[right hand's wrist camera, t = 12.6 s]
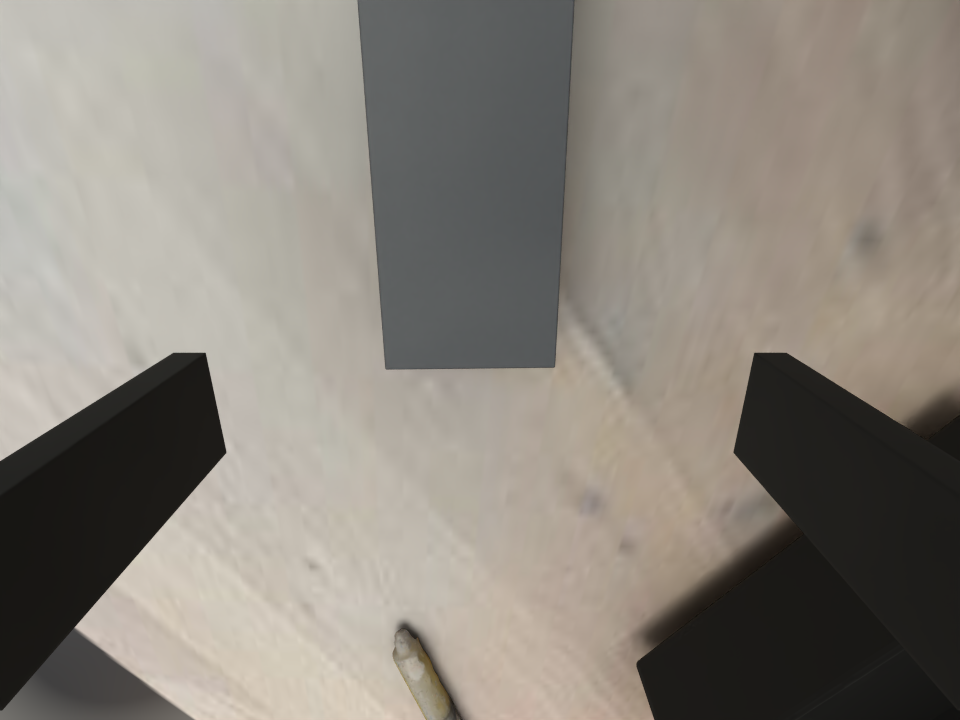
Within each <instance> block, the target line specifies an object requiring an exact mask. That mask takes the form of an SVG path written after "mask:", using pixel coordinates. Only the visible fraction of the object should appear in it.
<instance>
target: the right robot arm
mask: <svg viewBox="0 0 960 720" xmlns="http://www.w3.org/2000/svg"><path fill="white" fill-rule="evenodd" d="M225 454H226V448H225V443H224V438H223V434H222V429H221V424H220V419H219V414H218V410H217V405H216V400H215V395H214V391H213V386H212V381H211V376H210V372H209V367H208V362H207V357H206V353H173V354H171V355H169V356H168V357H166V358H165V359H163V360H161V361H160V362H158V363H157V364H155V365H153V366H152V367H150V368H149V369H147V370H145V371H144V372H142V373H141V374H139V375H137V376H136V377H134V378H133V379H131V380H129V381H128V382H126V383H125V384H123V385H121V386H120V387H118V388H117V389H115V390H113V391H112V392H110V393H109V394H107V395H105V396H104V397H102V398H101V399H99V400H97V401H96V402H94V403H93V404H91V405H89V406H88V407H86V408H85V409H83V410H81V411H80V412H78V413H77V414H75V415H73V416H72V417H70V418H69V419H67V420H65V421H64V422H62V423H61V424H59V425H57V426H56V427H54V428H53V429H51V430H49V431H48V432H46V433H45V434H43V435H41V436H40V437H38V438H37V439H35V440H33V441H32V442H30V443H29V444H27V445H25V446H24V447H22V448H21V449H19V450H17V451H16V452H14V453H13V454H11V455H9V456H8V457H6V458H5V459H3V460H1V461H0V710H3V709H4V708H5V707H6V705H7V704H8V703H9V702H10V701H11V700H12V699H13V697H14V696H15V695H16V694H17V693H18V692H19V690H20V689H21V688H22V687H23V686H24V685H25V684H26V682H27V681H28V680H29V679H30V678H31V677H32V676H33V674H34V673H35V672H36V671H37V670H38V669H39V667H40V666H41V665H42V664H43V663H44V662H45V661H46V659H47V658H48V657H49V656H50V655H51V654H52V653H53V651H54V650H55V649H56V648H57V647H58V646H59V645H60V643H61V642H62V641H63V640H64V639H65V638H66V636H67V635H68V634H69V633H70V632H71V631H72V630H73V628H74V627H75V626H76V625H77V624H78V623H79V622H80V620H81V619H82V618H83V617H84V616H85V615H86V613H87V612H88V611H89V610H90V609H91V608H92V607H93V605H94V604H95V603H96V602H97V601H98V600H99V599H100V597H101V596H102V595H103V594H104V593H105V592H106V591H107V589H108V588H109V587H110V586H111V585H112V584H113V582H114V581H115V580H116V579H117V578H118V577H119V576H120V574H121V573H122V572H123V571H124V570H125V569H126V568H127V566H128V565H129V564H130V563H131V562H132V561H133V559H134V558H135V557H136V556H137V555H138V554H139V553H140V551H141V550H142V549H143V548H144V547H145V546H146V545H147V543H148V542H149V541H150V540H151V539H152V538H153V536H154V535H155V534H156V533H157V532H158V531H159V530H160V528H161V527H162V526H163V525H164V524H165V523H166V522H167V520H168V519H169V518H170V517H171V516H172V515H173V513H174V512H175V511H176V510H177V509H178V508H179V507H180V505H181V504H182V503H183V502H184V501H185V500H186V499H187V497H188V496H189V495H190V494H191V493H192V492H193V491H194V489H195V488H196V487H197V486H198V485H199V484H200V482H201V481H202V480H203V479H204V478H205V477H206V476H207V474H208V473H209V472H210V471H211V470H212V469H213V468H214V466H215V465H216V464H217V463H218V462H219V461H220V459H221V458H222V457H223V456H224V455H225ZM734 454H735V455H736V456H737V457H738V458H739V459H740V461H741V462H742V463H743V464H744V465H745V466H746V468H747V469H748V470H749V471H750V472H751V473H752V474H753V476H754V477H755V478H756V479H757V480H758V481H759V482H760V484H761V485H762V486H763V487H764V488H765V489H766V491H767V492H768V493H769V494H770V495H771V496H772V497H773V499H774V500H775V501H776V502H777V503H778V504H779V505H780V507H781V508H782V509H783V510H784V511H785V512H786V513H787V515H788V516H789V517H790V518H791V519H792V520H793V522H794V523H795V524H796V525H797V526H798V527H799V528H800V530H801V531H802V532H803V533H804V534H805V535H806V536H807V538H808V539H809V540H810V541H811V542H812V543H813V545H814V546H815V547H816V548H817V549H818V550H819V551H820V553H821V554H822V555H823V556H824V557H825V558H826V559H827V561H828V562H829V563H830V564H831V565H832V566H833V568H834V569H835V570H836V571H837V572H838V573H839V574H840V576H841V577H842V578H843V579H844V580H845V581H846V582H847V584H848V585H849V586H850V587H851V588H852V589H853V591H854V592H855V593H856V594H857V595H858V596H859V597H860V599H861V600H862V601H863V602H864V603H865V604H866V605H867V607H868V608H869V609H870V610H871V611H872V612H873V613H874V615H875V616H876V617H877V618H878V619H879V620H880V622H881V623H882V624H883V625H884V626H885V627H886V628H887V630H888V631H889V632H890V633H891V634H892V635H893V636H894V638H895V639H896V640H897V641H898V642H899V643H900V645H901V646H902V647H903V648H904V649H905V650H906V651H907V653H908V654H909V655H910V656H911V657H912V658H913V659H914V661H915V662H916V663H917V664H918V665H919V666H920V668H921V669H922V670H923V671H924V672H925V673H926V674H927V676H928V677H929V678H930V679H931V680H932V681H933V682H934V684H935V685H936V686H937V687H938V688H939V689H940V690H941V692H942V693H943V694H944V695H945V696H946V697H947V699H948V700H949V701H950V702H951V703H952V704H953V705H954V707H955V708H956V709H957V710H960V461H959V460H957V459H955V458H954V457H952V456H951V455H949V454H947V453H946V452H944V451H943V450H941V449H939V448H938V447H936V446H935V445H933V444H931V443H930V442H928V441H927V440H925V439H923V438H922V437H920V436H919V435H917V434H915V433H914V432H912V431H911V430H909V429H907V428H906V427H904V426H903V425H901V424H899V423H898V422H896V421H895V420H893V419H891V418H890V417H888V416H887V415H885V414H883V413H882V412H880V411H879V410H877V409H875V408H874V407H872V406H871V405H869V404H867V403H866V402H864V401H863V400H861V399H859V398H858V397H856V396H855V395H853V394H851V393H850V392H848V391H847V390H845V389H843V388H842V387H840V386H839V385H837V384H835V383H834V382H832V381H831V380H829V379H827V378H826V377H824V376H823V375H821V374H819V373H818V372H816V371H815V370H813V369H811V368H810V367H808V366H807V365H805V364H803V363H802V362H800V361H799V360H797V359H795V358H794V357H792V356H791V355H789V354H787V353H754V357H753V362H752V367H751V372H750V376H749V381H748V386H747V391H746V395H745V400H744V405H743V410H742V414H741V419H740V424H739V429H738V434H737V438H736V443H735V448H734Z"/></svg>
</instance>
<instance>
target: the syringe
mask: <svg viewBox="0 0 960 720" xmlns="http://www.w3.org/2000/svg"><path fill="white" fill-rule="evenodd" d="M395 646H396V647H395V649H394V651H393V659H394V662H395V663H396V665H397V667H398V669H399V671H400V673H401V674H402V676H403V678H404V680H405V682H406V684H407V685H408V687H409V689H410V691H411V693H412V695H413V696H414V698H415V700H416V702H417V704H418V706H419V708H420V709H421V711H422V713H423V715H424V717H425V718H426V720H461V718H460V717H459V715H458V713H457V711H456V709H455V707H454V704H453V702H452V700H451V699H450V697H449V695H448V694H447V692H446V690H445V689H444V687H443V686H442V684H441V683H440V681H439V678H438V676H437V674H436V673H435V672H434V670H433V667H432V663H431V661H430V659H429V657H428V655H427V654H426V653H425V651H424V650H423V649H422V647H421V645H420V642H419V639H418V637H417V638H416V639H414V638H413V637H412V636H411V635H410V633H409V632H408V631H407V630H406V629H400V630H399V631H397V632H396V634H395Z"/></svg>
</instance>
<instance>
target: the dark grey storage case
mask: <svg viewBox="0 0 960 720" xmlns="http://www.w3.org/2000/svg"><path fill="white" fill-rule="evenodd" d="M927 441H928V442H930V443H931V444H933V445H935V446H936V447H938V448H939V449H941V450H943V451H944V452H946V453H947V454H949V455H951V456H952V457H954V458H955V459H957V460H959V461H960V415H959V416H958V417H957V418H955V419H954V420H953V421H951V422H950V423H949V424H948V425H946V426H945V427H944V428H942V429H941V430H940V431H938V432H937V433H936V434H934V435H933V436H932V437H931V438H929V439H928V440H927ZM637 669H638V672H639V675H640V678H641V681H642V684H643V687H644V690H645V693H646V696H647V699H648V702H649V705H650V708H651V711H652V714H653V717H654V720H960V710H957V709H956V708H955V707H954V705H953V704H952V703H951V702H950V701H949V700H948V699H947V697H946V696H945V695H944V694H943V693H942V692H941V690H940V689H939V688H938V687H937V686H936V685H935V684H934V682H933V681H932V680H931V679H930V678H929V677H928V676H927V674H926V673H925V672H924V671H923V670H922V669H921V668H920V666H919V665H918V664H917V663H916V662H915V661H914V659H913V658H912V657H911V656H910V655H909V654H908V653H907V651H906V650H905V649H904V648H903V647H902V646H901V645H900V643H899V642H898V641H897V640H896V639H895V638H894V636H893V635H892V634H891V633H890V632H889V631H888V630H887V628H886V627H885V626H884V625H883V624H882V623H881V622H880V620H879V619H878V618H877V617H876V616H875V615H874V613H873V612H872V611H871V610H870V609H869V608H868V607H867V605H866V604H865V603H864V602H863V601H862V600H861V599H860V597H859V596H858V595H857V594H856V593H855V592H854V591H853V589H852V588H851V587H850V586H849V585H848V584H847V582H846V581H845V580H844V579H843V578H842V577H841V576H840V574H839V573H838V572H837V571H836V570H835V569H834V568H833V566H832V565H831V564H830V563H829V562H828V561H827V559H826V558H825V557H824V556H823V555H822V554H821V553H820V551H819V550H818V549H817V548H816V547H815V546H814V545H813V543H812V542H811V541H810V540H809V539H808V538H807V536H806V535H805V534H804V535H802V536H801V537H800V538H798V539H797V540H796V541H794V542H793V543H792V544H790V545H789V546H788V547H787V548H785V549H784V550H783V551H781V552H780V553H779V554H777V555H776V556H775V557H773V558H772V559H771V560H769V561H768V562H767V563H766V564H764V565H763V566H762V567H760V568H759V569H758V570H756V571H755V572H754V573H752V574H751V575H750V576H749V577H747V578H746V579H745V580H743V581H742V582H741V583H739V584H738V585H737V586H735V587H734V588H733V589H732V590H730V591H729V592H728V593H726V594H725V595H724V596H722V597H721V598H720V599H718V600H717V601H716V602H714V603H713V604H712V605H711V606H709V607H708V608H707V609H705V610H704V611H703V612H701V613H700V614H699V615H697V616H696V617H695V618H694V619H692V620H691V621H690V622H688V623H687V624H686V625H684V626H683V627H682V628H680V629H679V630H678V631H677V632H675V633H674V634H673V635H671V636H670V637H669V638H667V639H666V640H665V641H663V642H662V643H661V644H660V645H658V646H657V647H656V648H654V649H653V650H652V651H650V652H649V653H648V654H646V655H645V656H644V657H642V658H641V659H640V660H639V661H638V662H637Z"/></svg>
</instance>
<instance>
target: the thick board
mask: <svg viewBox="0 0 960 720" xmlns="http://www.w3.org/2000/svg"><path fill="white" fill-rule="evenodd" d="M358 12H359V26H360V39H361V52H362V65H363V79H364V92H365V105H366V118H367V131H368V145H369V158H370V171H371V184H372V198H373V211H374V224H375V237H376V251H377V264H378V277H379V290H380V304H381V317H382V330H383V343H384V357H385V368H386V369H471V368H554V367H555V358H556V339H557V320H558V302H559V283H560V264H561V245H562V226H563V207H564V188H565V170H566V151H567V132H568V113H569V94H570V75H571V56H572V37H573V19H574V0H358Z"/></svg>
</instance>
